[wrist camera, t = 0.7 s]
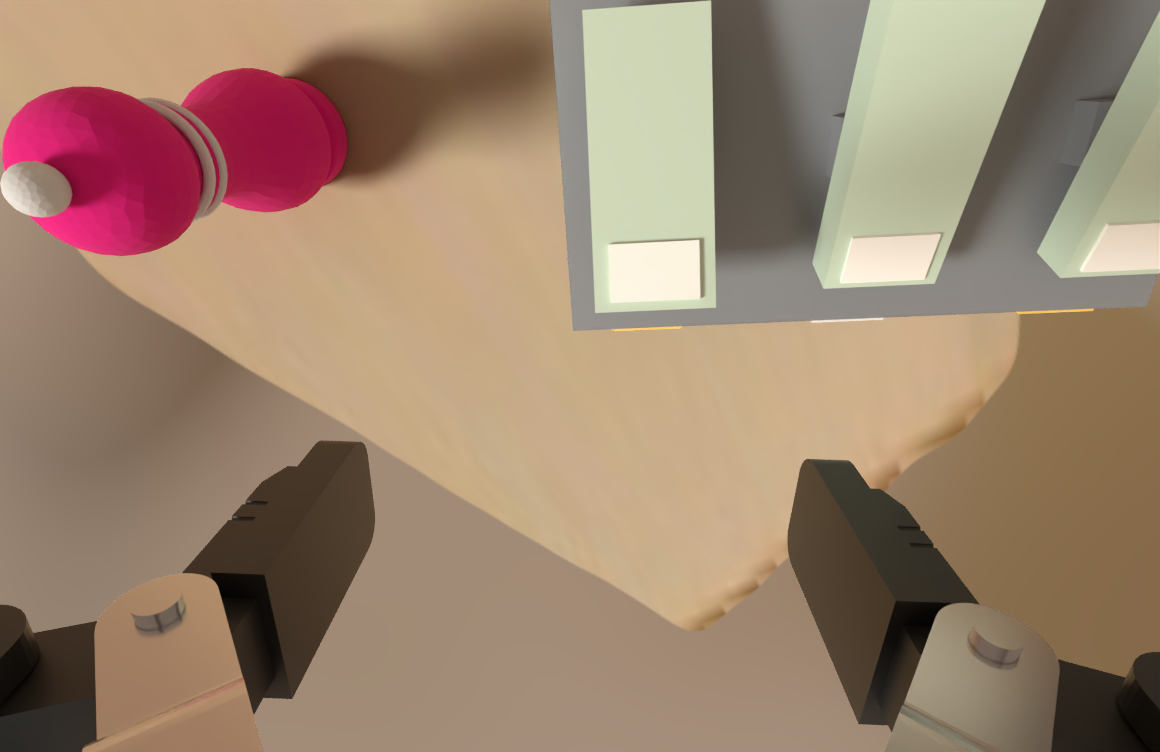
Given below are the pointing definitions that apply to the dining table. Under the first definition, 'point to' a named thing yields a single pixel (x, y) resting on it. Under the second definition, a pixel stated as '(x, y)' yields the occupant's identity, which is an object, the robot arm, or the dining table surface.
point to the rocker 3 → (1116, 185)
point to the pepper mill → (168, 157)
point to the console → (808, 150)
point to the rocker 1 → (651, 156)
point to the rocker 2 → (916, 134)
